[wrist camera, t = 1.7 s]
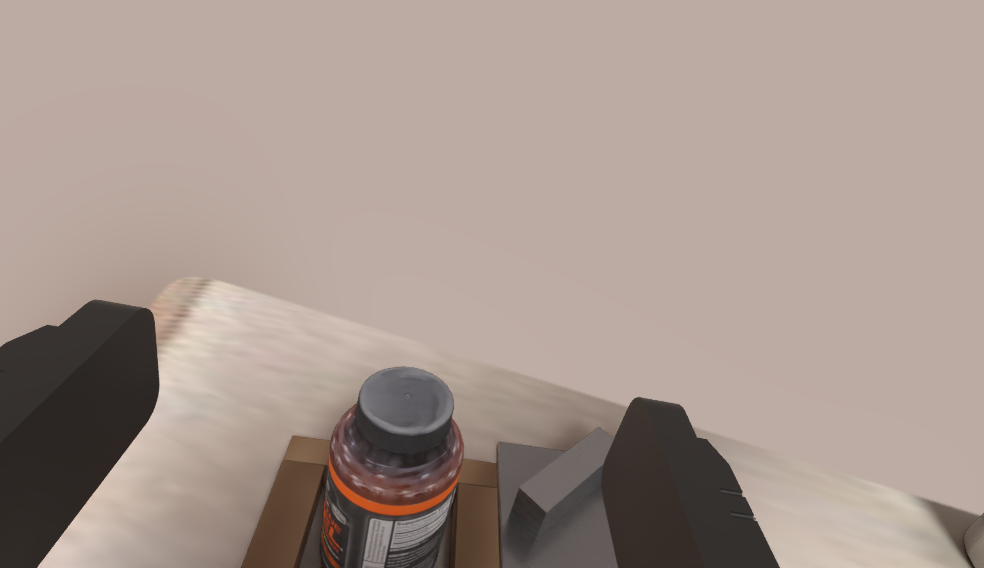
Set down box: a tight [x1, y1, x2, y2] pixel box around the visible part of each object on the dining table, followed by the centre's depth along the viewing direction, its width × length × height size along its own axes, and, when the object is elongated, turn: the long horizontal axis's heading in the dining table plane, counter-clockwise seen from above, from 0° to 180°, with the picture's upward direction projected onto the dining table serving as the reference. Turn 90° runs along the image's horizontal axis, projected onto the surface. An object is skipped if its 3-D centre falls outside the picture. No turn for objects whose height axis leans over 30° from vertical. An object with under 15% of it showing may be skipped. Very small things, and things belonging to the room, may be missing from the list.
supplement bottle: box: [320, 367, 464, 568], centre depth 26 cm, size 6×6×11 cm
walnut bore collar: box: [241, 436, 500, 568], centre depth 29 cm, size 12×11×2 cm
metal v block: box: [497, 427, 756, 568], centre depth 33 cm, size 15×9×3 cm, turn 91°
